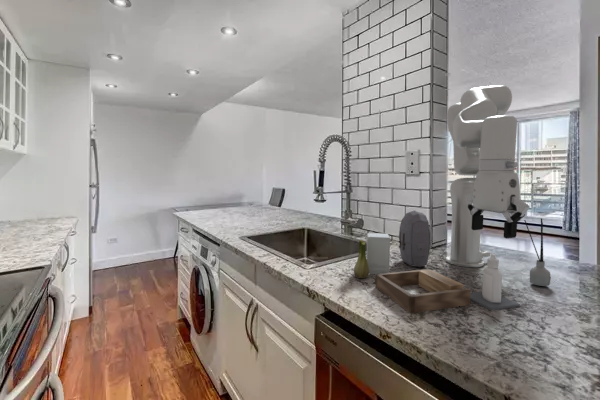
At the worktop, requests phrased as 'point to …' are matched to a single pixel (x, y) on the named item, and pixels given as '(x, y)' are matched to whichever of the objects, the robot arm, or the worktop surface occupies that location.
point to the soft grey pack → (414, 239)
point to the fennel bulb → (361, 262)
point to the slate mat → (483, 302)
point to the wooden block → (437, 281)
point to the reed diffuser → (539, 266)
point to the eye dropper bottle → (492, 281)
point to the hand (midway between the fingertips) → (492, 233)
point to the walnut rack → (418, 302)
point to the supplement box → (378, 253)
